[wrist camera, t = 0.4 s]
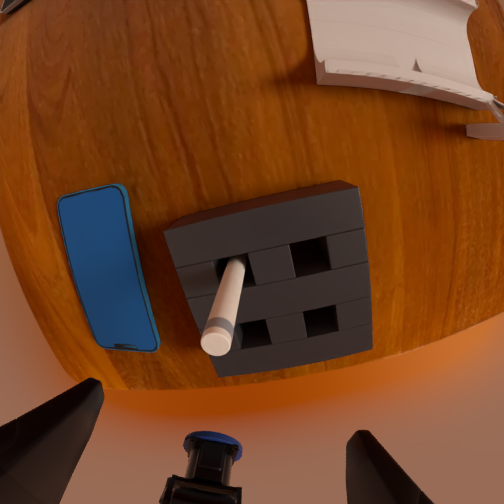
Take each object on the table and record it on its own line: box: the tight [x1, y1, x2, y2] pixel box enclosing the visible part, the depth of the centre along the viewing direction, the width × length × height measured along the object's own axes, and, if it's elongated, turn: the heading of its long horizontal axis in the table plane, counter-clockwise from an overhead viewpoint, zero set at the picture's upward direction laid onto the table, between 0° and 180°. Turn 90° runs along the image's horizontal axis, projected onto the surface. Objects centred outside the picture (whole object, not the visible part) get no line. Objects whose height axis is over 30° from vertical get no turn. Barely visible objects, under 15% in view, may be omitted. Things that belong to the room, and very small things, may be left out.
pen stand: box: [163, 180, 373, 377], centre depth 20 cm, size 12×12×4 cm
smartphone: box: [57, 183, 161, 352], centre depth 22 cm, size 7×1×15 cm
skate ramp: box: [306, 0, 504, 141], centre depth 12 cm, size 15×13×5 cm
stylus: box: [201, 253, 248, 356], centre depth 16 cm, size 1×1×11 cm
